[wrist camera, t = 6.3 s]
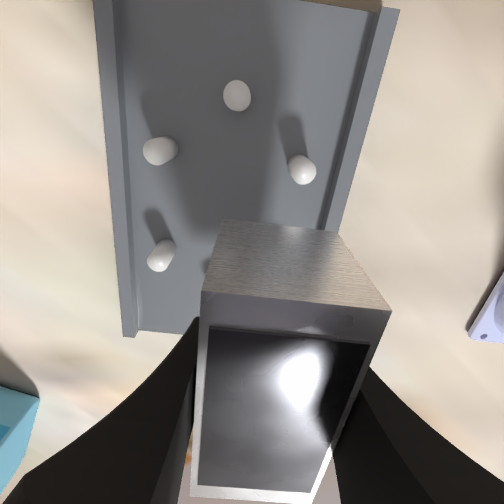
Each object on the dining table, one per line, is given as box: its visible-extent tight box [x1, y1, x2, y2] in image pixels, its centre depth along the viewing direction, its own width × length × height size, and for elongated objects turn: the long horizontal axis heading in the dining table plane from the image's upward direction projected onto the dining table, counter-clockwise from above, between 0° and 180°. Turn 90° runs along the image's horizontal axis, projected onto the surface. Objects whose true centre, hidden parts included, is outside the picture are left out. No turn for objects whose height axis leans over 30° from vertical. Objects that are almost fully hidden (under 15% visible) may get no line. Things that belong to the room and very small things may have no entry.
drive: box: [190, 218, 392, 504], centre depth 11 cm, size 4×9×5 cm, turn 173°
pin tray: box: [93, 0, 400, 338], centre depth 16 cm, size 13×20×3 cm, turn 173°
